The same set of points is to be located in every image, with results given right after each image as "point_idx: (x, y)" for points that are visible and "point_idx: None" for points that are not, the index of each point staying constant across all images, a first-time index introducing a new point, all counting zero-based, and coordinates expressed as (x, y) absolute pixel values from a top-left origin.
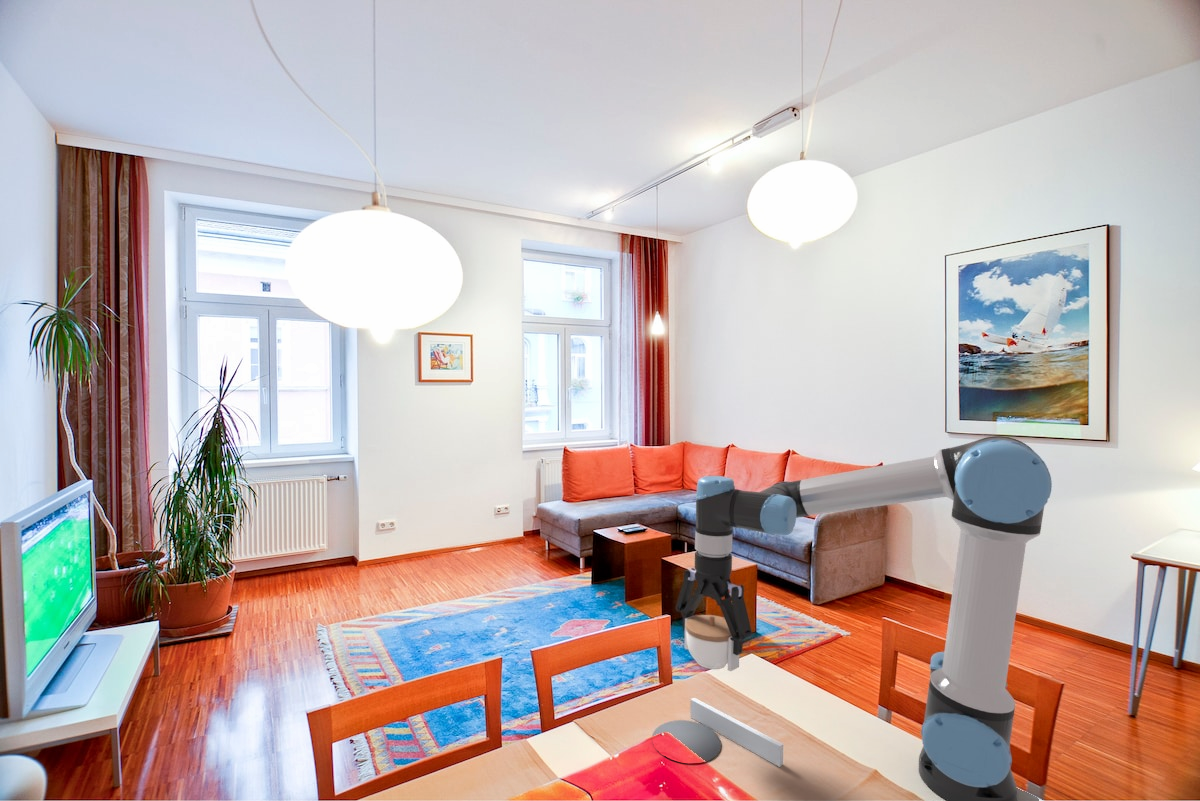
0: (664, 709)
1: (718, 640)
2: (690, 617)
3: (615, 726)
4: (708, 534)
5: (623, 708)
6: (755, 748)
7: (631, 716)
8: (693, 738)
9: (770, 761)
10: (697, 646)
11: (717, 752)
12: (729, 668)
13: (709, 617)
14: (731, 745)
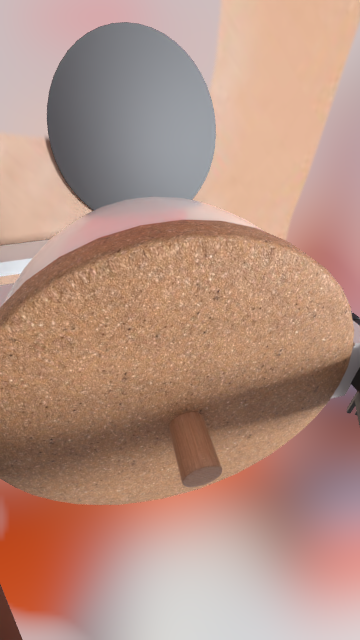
0: (246, 195)
1: None
2: (349, 371)
3: (295, 20)
4: None
5: (317, 113)
6: (23, 247)
7: (286, 103)
8: (133, 163)
9: None
10: (132, 206)
11: (61, 170)
12: (2, 291)
13: (256, 444)
14: (73, 221)
